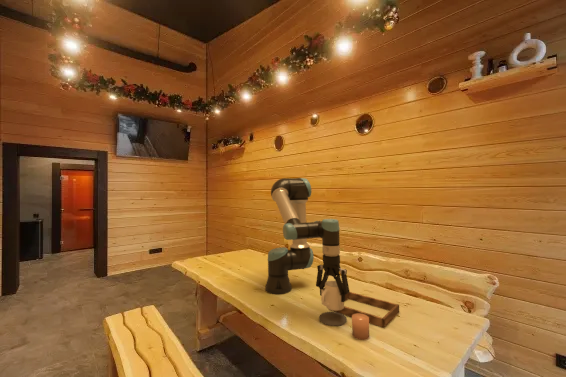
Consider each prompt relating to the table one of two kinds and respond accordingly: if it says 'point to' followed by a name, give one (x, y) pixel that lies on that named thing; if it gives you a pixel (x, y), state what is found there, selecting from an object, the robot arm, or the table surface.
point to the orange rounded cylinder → (360, 326)
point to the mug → (331, 296)
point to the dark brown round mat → (332, 319)
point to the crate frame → (373, 302)
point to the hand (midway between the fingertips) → (332, 306)
